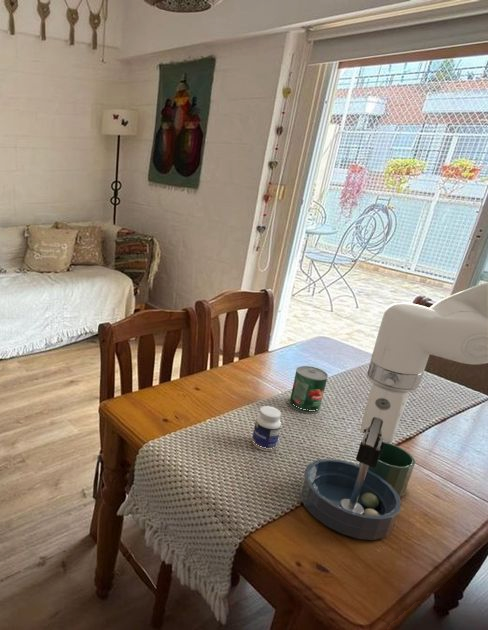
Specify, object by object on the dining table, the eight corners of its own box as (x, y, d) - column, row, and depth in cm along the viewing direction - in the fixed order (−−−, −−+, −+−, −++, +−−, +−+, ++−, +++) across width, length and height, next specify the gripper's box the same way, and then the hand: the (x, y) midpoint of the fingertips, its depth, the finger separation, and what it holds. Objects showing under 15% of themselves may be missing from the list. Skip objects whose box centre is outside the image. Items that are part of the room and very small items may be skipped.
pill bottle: (246, 440, 112) (252, 407, 108) (264, 435, 114) (270, 402, 110) (263, 454, 107) (270, 419, 103) (281, 449, 109) (288, 415, 105)
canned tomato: (317, 417, 122) (326, 382, 118) (287, 408, 126) (294, 374, 122) (321, 404, 128) (329, 370, 124) (291, 396, 132) (298, 363, 128)
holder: (407, 482, 98) (417, 453, 95) (400, 504, 92) (411, 474, 89) (360, 463, 104) (369, 435, 101) (351, 483, 98) (360, 454, 95)
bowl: (398, 507, 91) (406, 484, 89) (384, 558, 80) (393, 534, 78) (312, 470, 102) (317, 448, 100) (288, 510, 90) (293, 487, 88)
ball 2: (362, 509, 88) (375, 522, 87) (356, 516, 87) (369, 530, 85) (373, 503, 86) (387, 517, 85) (366, 510, 85) (380, 524, 83)
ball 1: (363, 487, 91) (355, 499, 91) (375, 497, 88) (366, 509, 88) (373, 491, 91) (365, 503, 92) (385, 501, 89) (376, 513, 89)
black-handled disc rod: (364, 510, 88) (389, 434, 81) (359, 522, 85) (385, 444, 78) (341, 500, 90) (364, 426, 83) (336, 511, 87) (359, 435, 81)
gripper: (414, 400, 68) (382, 492, 75) (426, 365, 79) (397, 448, 86) (358, 383, 73) (334, 471, 80) (377, 352, 84) (354, 432, 91)
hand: (367, 459), depth 83 cm, fingers closed on black-handled disc rod, 2 cm apart
